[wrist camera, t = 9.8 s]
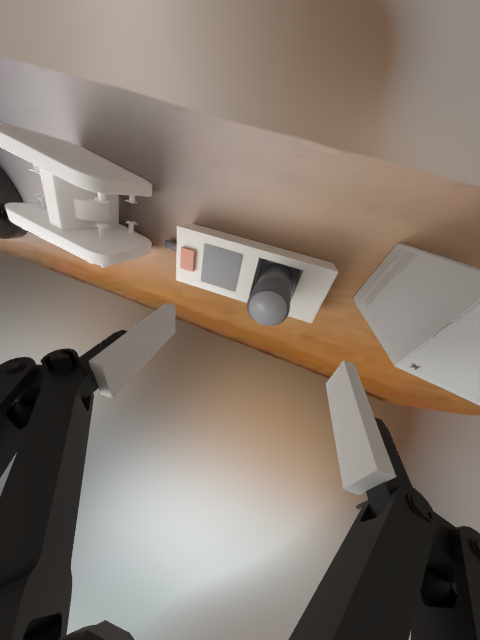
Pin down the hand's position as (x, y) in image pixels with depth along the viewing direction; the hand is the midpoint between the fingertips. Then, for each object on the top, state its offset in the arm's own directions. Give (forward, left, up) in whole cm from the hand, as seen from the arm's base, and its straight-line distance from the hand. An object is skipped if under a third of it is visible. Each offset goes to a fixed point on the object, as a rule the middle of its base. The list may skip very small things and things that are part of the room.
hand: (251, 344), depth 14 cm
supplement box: (+5, +17, -19) cm, 26 cm away
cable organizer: (-17, -22, -19) cm, 34 cm away
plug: (0, 0, -17) cm, 17 cm away
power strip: (-3, -5, -18) cm, 19 cm away
